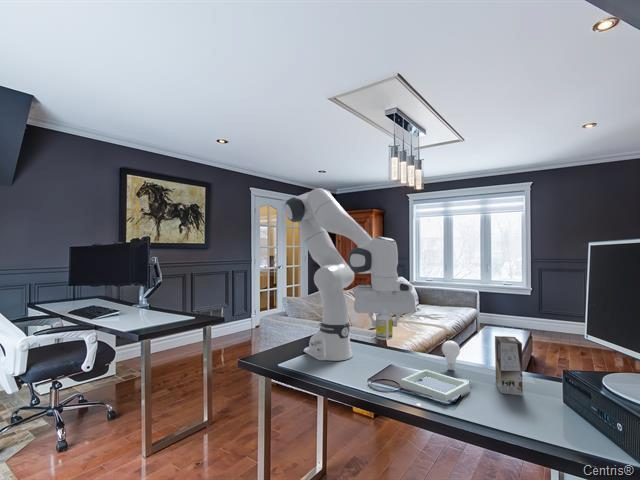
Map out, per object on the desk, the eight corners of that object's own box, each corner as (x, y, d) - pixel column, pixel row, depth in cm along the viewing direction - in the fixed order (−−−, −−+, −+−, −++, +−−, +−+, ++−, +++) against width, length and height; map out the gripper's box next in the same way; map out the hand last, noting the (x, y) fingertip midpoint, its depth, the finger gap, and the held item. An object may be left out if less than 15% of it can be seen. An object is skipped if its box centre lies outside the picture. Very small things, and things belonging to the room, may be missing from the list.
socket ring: (362, 384, 115) (362, 383, 115) (382, 376, 122) (382, 376, 122) (387, 395, 106) (387, 394, 106) (408, 386, 113) (408, 385, 113)
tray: (401, 388, 111) (401, 379, 112) (425, 377, 120) (425, 369, 121) (446, 405, 99) (446, 394, 99) (469, 392, 108) (469, 382, 108)
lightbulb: (460, 368, 130) (460, 339, 130) (459, 374, 124) (459, 343, 124) (442, 366, 132) (442, 337, 133) (441, 371, 126) (440, 341, 127)
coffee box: (523, 396, 105) (522, 343, 106) (500, 393, 107) (499, 341, 108) (516, 385, 114) (515, 336, 115) (495, 382, 116) (494, 334, 116)
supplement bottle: (389, 335, 118) (389, 307, 118) (394, 340, 112) (395, 310, 112) (373, 336, 117) (374, 307, 117) (378, 340, 112) (379, 310, 112)
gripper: (354, 285, 112) (354, 328, 111) (417, 286, 112) (416, 328, 112) (352, 283, 118) (352, 323, 118) (411, 284, 118) (411, 324, 118)
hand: (384, 326), depth 115 cm, fingers closed on supplement bottle, 5 cm apart
